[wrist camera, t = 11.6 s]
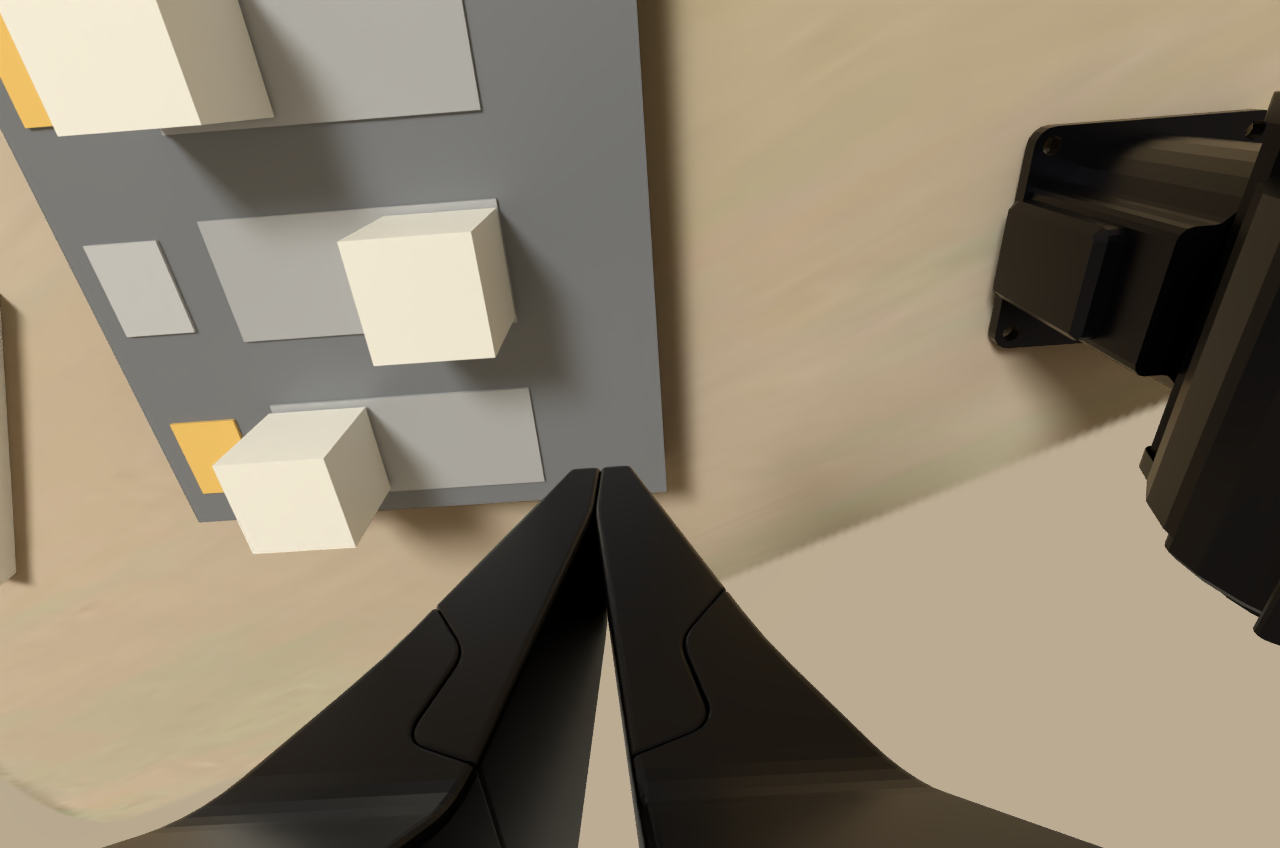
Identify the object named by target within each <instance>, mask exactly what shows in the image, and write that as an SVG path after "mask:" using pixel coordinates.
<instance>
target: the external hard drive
mask: <svg viewBox="0 0 1280 848" xmlns="http://www.w3.org/2000/svg"><path fill="white" fill-rule="evenodd" d="M15 573H16V557H15V539H14V522H13V504H12V487H11V470H10V454H9V438H8V421H7V404H6V385H5V371H4V355H3V338H2V322H1V309H0V585H1V584H3V583H4V582H5V581H6V580H8V579H9V578H10V577H12V576H13V575H14V574H15Z"/></svg>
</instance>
